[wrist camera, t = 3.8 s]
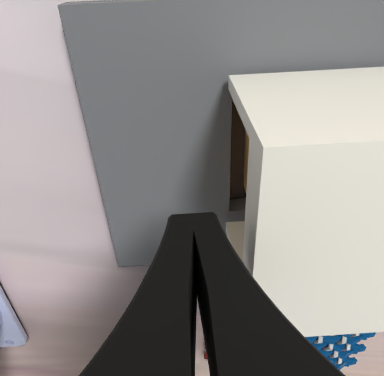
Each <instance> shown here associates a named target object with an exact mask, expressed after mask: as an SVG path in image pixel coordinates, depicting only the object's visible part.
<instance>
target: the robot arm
mask: <svg viewBox="0 0 384 376" xmlns="http://www.w3.org/2000/svg"><path fill="white" fill-rule="evenodd" d="M197 297H198V303H199V309H200V315H201V322H202V328H203V334H204V340H205V346H206V352H207V358H208V364H209V371H210V376H345V375H344V374H343V373H342V372H341V371H340V370H338V369H337V368H336V367H335V366H334V365H333V364H332V363H331V362H330V361H329V360H328V359H327V358H326V357H325V356H324V355H323V354H322V353H321V352H320V351H319V350H318V349H317V348H316V347H314V346H313V345H312V344H311V343H310V342H309V341H308V340H307V339H306V338H305V337H304V336H303V335H302V334H301V333H300V332H299V331H298V330H297V328H296V327H295V326H294V325H293V324H292V323H291V322H290V321H289V320H288V319H287V318H286V317H285V315H284V314H283V313H282V312H281V311H280V310H279V309H278V308H277V306H276V305H275V304H274V303H273V302H272V300H271V299H270V298H269V297H268V296H267V294H266V293H265V292H264V291H263V289H262V288H261V287H260V285H259V284H258V283H257V281H256V280H255V279H254V278H253V276H252V275H251V273H250V272H249V271H248V269H247V268H246V266H245V265H244V263H243V262H242V260H241V259H240V257H239V256H238V254H237V253H236V251H235V250H234V248H233V246H232V245H231V243H230V241H229V240H228V238H227V236H226V234H225V232H224V230H223V229H222V226H221V224H220V222H219V220H218V217H217V215H216V214H215V213H214V212H204V213H188V214H172V215H171V216H169V217H168V221H167V225H166V228H165V232H164V234H163V237H162V240H161V242H160V245H159V248H158V250H157V252H156V254H155V257H154V259H153V261H152V263H151V265H150V268H149V270H148V272H147V274H146V275H145V277H144V279H143V281H142V283H141V285H140V287H139V288H138V290H137V292H136V294H135V296H134V298H133V299H132V301H131V303H130V304H129V306H128V308H127V309H126V311H125V312H124V314H123V316H122V317H121V319H120V320H119V322H118V323H117V325H116V326H115V328H114V329H113V331H112V332H111V333H110V335H109V336H108V338H107V339H106V341H105V342H104V343H103V345H102V346H101V348H100V349H99V350H98V352H97V353H96V354H95V356H94V357H93V358H92V360H91V361H90V362H89V364H88V365H87V366H86V368H85V369H84V370H83V371H82V372H81V374H80V375H79V376H195V345H196V312H197ZM26 341H27V335H26V333H25V331H24V329H23V327H22V326H21V324H20V322H19V320H18V318H17V316H16V314H15V312H14V311H13V309H12V307H11V305H10V303H9V301H8V299H7V297H6V296H5V294H4V292H3V290H2V288H1V286H0V347H10V346H21V345H24V344H25V343H26Z"/></svg>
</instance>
